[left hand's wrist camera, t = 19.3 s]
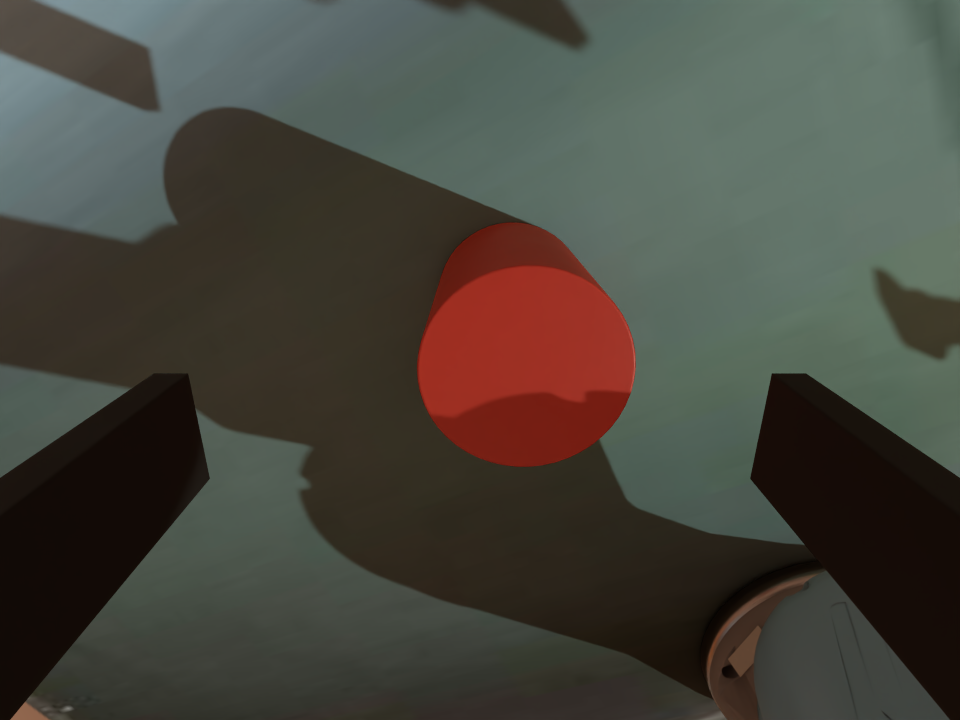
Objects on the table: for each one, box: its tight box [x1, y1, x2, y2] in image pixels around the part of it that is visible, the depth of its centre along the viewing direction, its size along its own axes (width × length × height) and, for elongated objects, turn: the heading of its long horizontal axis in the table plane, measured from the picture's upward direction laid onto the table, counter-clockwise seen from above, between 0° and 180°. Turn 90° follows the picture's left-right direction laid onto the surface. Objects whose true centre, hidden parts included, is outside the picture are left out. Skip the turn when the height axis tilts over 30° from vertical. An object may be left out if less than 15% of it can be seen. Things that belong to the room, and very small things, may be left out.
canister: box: [417, 223, 636, 467], centre depth 25 cm, size 8×8×11 cm
